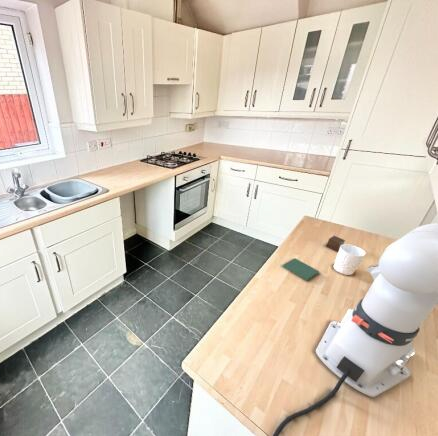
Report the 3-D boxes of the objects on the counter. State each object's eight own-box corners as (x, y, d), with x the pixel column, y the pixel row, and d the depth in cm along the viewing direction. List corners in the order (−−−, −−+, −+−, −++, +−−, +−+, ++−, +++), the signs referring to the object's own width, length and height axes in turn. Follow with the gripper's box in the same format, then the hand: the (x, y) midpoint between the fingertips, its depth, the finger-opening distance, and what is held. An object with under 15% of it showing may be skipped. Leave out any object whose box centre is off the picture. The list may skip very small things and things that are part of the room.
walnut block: (336, 251, 110) (340, 243, 108) (325, 246, 113) (329, 238, 111) (341, 248, 112) (345, 240, 110) (330, 243, 115) (334, 235, 113)
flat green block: (307, 281, 94) (307, 278, 93) (282, 266, 101) (283, 264, 101) (318, 273, 97) (319, 271, 97) (294, 260, 105) (294, 258, 104)
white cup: (354, 267, 100) (364, 247, 95) (356, 278, 94) (367, 258, 89) (331, 261, 104) (339, 242, 99) (331, 271, 98) (340, 251, 93)
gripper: (410, 284, 74) (360, 287, 86) (434, 262, 83) (385, 268, 95) (399, 264, 75) (350, 270, 87) (423, 245, 84) (376, 253, 96)
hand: (369, 269), depth 91 cm, fingers closed
